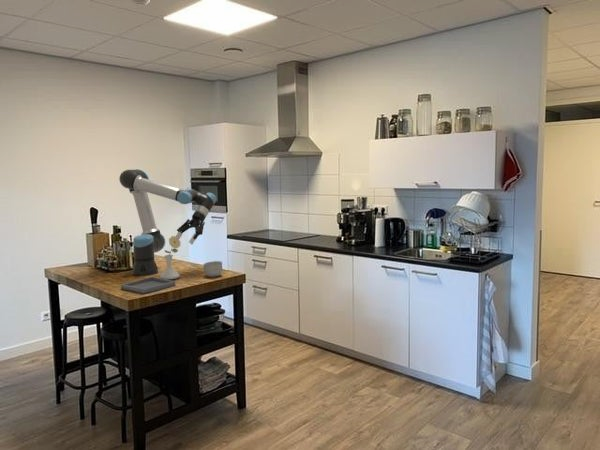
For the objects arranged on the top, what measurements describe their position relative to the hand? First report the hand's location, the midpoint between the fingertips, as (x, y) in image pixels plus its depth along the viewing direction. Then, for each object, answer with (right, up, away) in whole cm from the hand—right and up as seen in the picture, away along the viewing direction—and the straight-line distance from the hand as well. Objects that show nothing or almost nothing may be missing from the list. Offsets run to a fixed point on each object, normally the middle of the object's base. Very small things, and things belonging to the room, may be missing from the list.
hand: (182, 242), depth 273 cm
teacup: (+19, -20, +1) cm, 27 cm away
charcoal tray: (-12, -23, -24) cm, 36 cm away
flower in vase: (-5, -21, -5) cm, 22 cm away
